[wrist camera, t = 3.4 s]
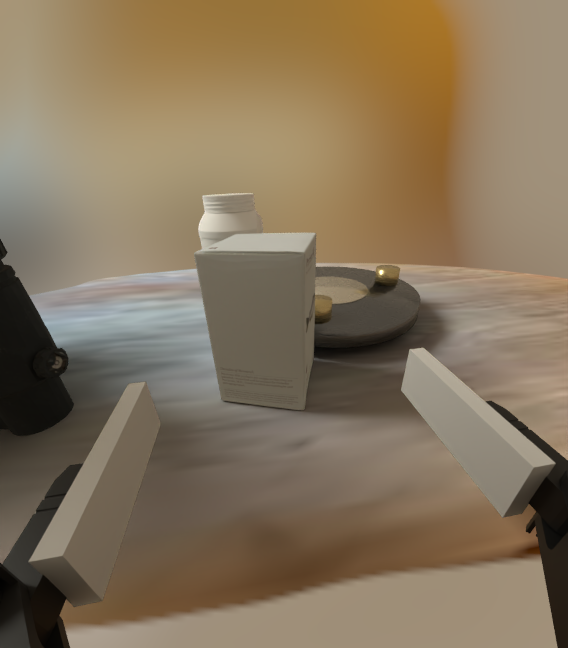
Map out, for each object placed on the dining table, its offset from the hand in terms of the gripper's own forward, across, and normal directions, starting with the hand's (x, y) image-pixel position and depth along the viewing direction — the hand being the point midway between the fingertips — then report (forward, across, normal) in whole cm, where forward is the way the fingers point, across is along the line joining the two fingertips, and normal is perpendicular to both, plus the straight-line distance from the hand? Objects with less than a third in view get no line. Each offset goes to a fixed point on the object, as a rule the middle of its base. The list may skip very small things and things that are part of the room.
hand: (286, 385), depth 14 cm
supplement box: (+9, 0, -7) cm, 12 cm away
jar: (+38, -3, -7) cm, 39 cm away
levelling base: (+22, +9, -7) cm, 24 cm away
